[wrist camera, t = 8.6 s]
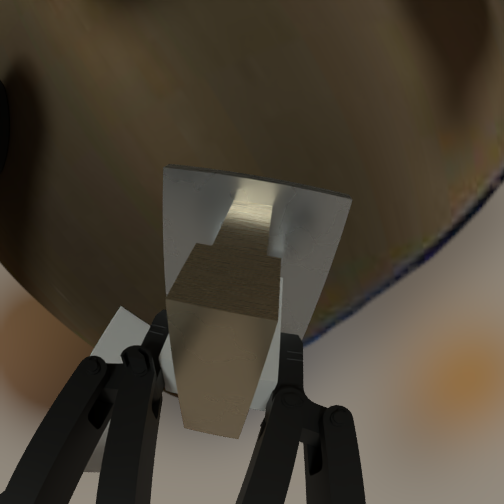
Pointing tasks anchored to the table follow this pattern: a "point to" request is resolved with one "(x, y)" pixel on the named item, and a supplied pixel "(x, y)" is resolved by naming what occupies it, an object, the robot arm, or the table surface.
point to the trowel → (239, 280)
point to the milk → (116, 360)
